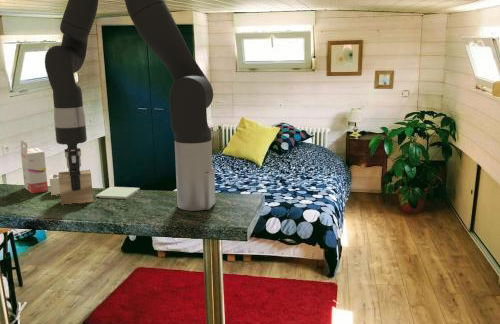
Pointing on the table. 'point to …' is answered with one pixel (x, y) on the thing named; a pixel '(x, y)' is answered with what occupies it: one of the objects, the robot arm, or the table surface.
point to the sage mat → (117, 192)
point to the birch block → (75, 196)
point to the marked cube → (54, 184)
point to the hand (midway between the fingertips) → (75, 187)
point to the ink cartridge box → (34, 169)
